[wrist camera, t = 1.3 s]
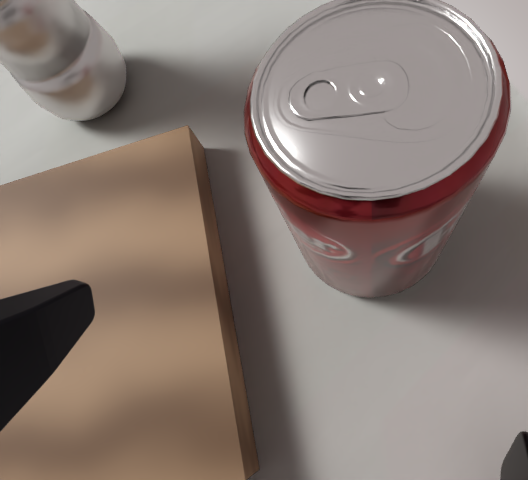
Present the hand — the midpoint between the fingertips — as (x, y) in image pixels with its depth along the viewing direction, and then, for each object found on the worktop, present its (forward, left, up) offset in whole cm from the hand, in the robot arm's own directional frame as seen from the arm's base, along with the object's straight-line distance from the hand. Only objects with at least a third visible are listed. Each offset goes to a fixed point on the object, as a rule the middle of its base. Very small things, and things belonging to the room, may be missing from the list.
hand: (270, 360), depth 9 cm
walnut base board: (+5, +13, -13) cm, 19 cm away
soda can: (+6, -4, -13) cm, 15 cm away
